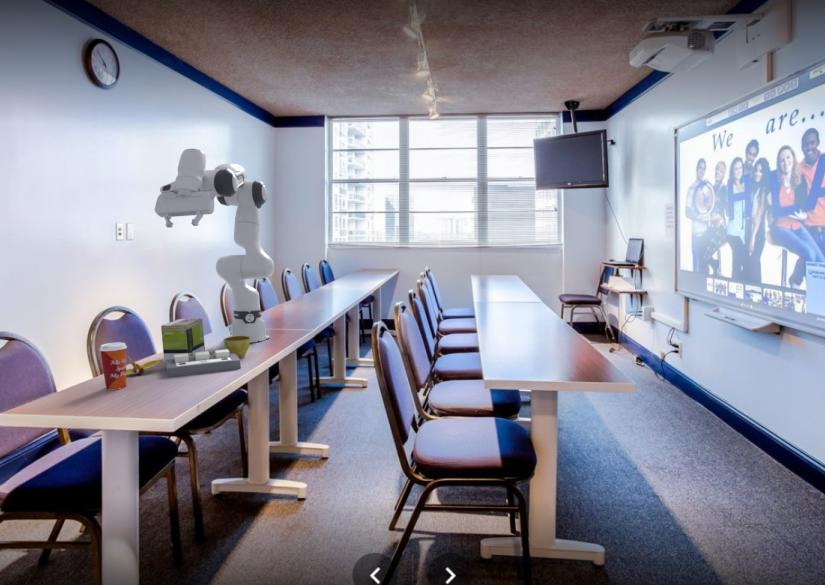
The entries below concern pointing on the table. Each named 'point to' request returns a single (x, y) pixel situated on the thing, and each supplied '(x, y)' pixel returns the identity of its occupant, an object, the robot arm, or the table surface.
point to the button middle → (202, 356)
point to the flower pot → (237, 344)
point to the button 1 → (181, 358)
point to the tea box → (182, 338)
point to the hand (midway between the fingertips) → (181, 226)
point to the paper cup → (114, 364)
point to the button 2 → (222, 353)
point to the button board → (202, 365)
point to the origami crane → (141, 366)
